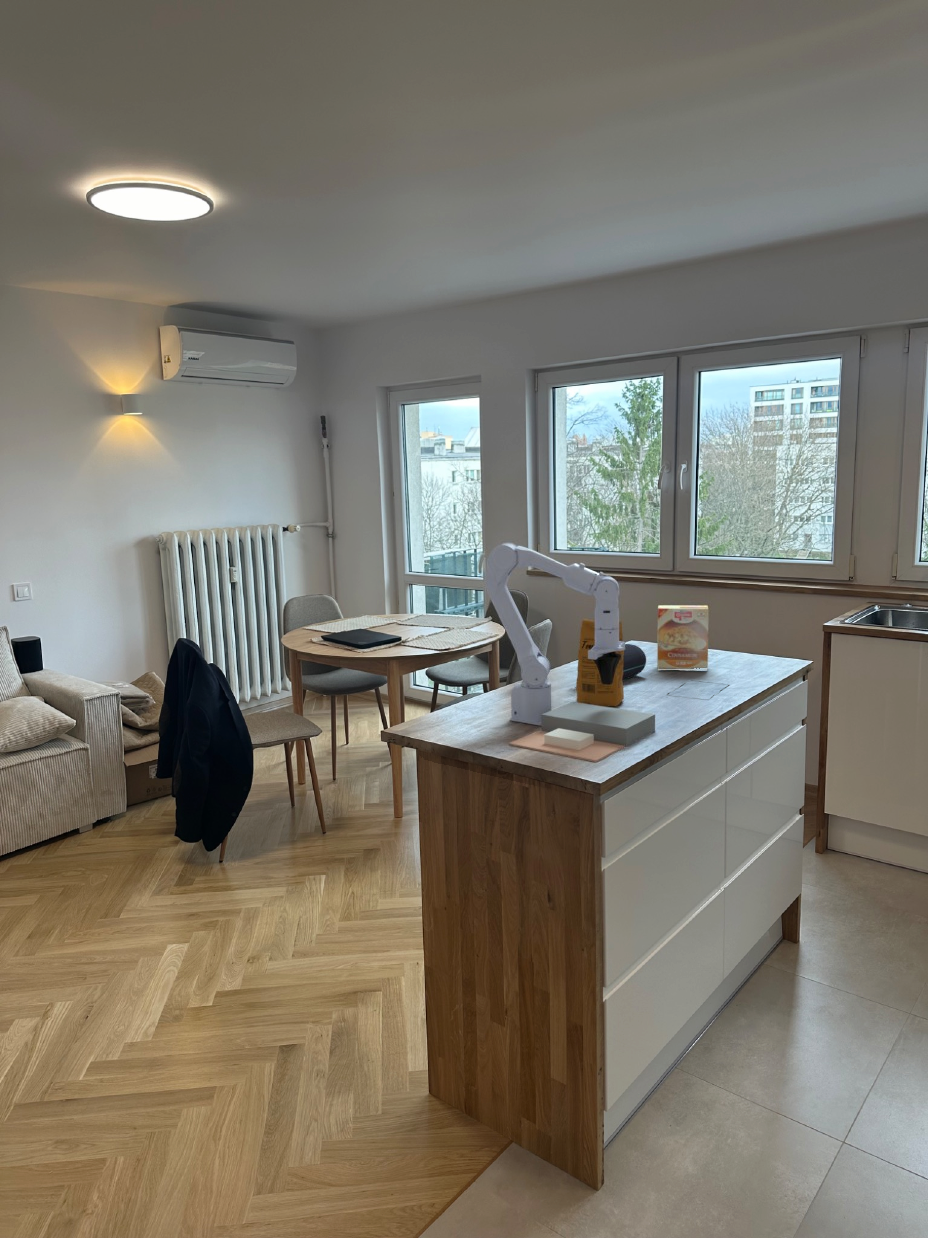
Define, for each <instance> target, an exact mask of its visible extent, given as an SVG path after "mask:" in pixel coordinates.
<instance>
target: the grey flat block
mask: <svg viewBox="0 0 928 1238" xmlns="http://www.w3.org/2000/svg"><path fill="white" fill-rule="evenodd" d="M540 727H541V731H545V732H551V731H554V730H556V729H558V728H560V729H566V730H571V731H577V732H583V733H589V734H594V740H595V741H600V742H606V743H611V744H617V745H622V746H624V747H628V746H630V745H632V744H634V743H636V742H638V741H639V740H641V739H643V738H645V737H648V735H651V734H653V733H654V732H656V714H655V713H648V712H642V711H634V710H628V709H622V708H615V707H611V706H597V705H592V704H584V703H577V701H576V702H575V701H572V702H568V703H566V704H564V705H562V706H558V707H557V708H554V709H551V711H549V712H546V713H544V714H541V726H540Z"/></svg>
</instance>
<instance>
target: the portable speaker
mask: <svg viewBox="0 0 928 1238" xmlns="http://www.w3.org/2000/svg"><path fill="white" fill-rule="evenodd" d="M646 663H647V656H646V654H645V652H644V651H643V650H642V648H641V647H640V646H638V645H636V644H635V645H634V644H631V643H625V650H624V656H623V677H622V681H623V680H626V679H630V678H633V677H635V676H638V675H639V674H640V673H642V672H643V671H644V669H645V667H646Z"/></svg>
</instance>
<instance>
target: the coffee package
mask: <svg viewBox="0 0 928 1238" xmlns="http://www.w3.org/2000/svg"><path fill="white" fill-rule="evenodd" d="M579 636H580V638H579V648H578V651H577V653H578V654H577V655H578V656H577V675H576V682H575V683H576V702H577V703H584V704H590V705H597V706H603V707H618V705H619V704H620V703H621V702H622V701H624V698H625V696H624V695H625V694H624V692H625V691H624V683H623V680H622V677H623V656H624V650H622V651H616V653H617V654H621V659H620V661H619V663H618V665H617V667H616V670H615V674H614V678H613V682H612V684H610V685H606V684H602V682H601V678H600V674H599V670H598V668H597V665H596V663H595V662H594V660H593V659H588V651H589V650H591V649H592V648H593V647H594V646H595V620H591V619H586V618H583V619H582V621H581V627H580V635H579ZM623 637H624V636H623V623H622V620H619V641H622V642H624V641H623V640H624V639H623Z"/></svg>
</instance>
